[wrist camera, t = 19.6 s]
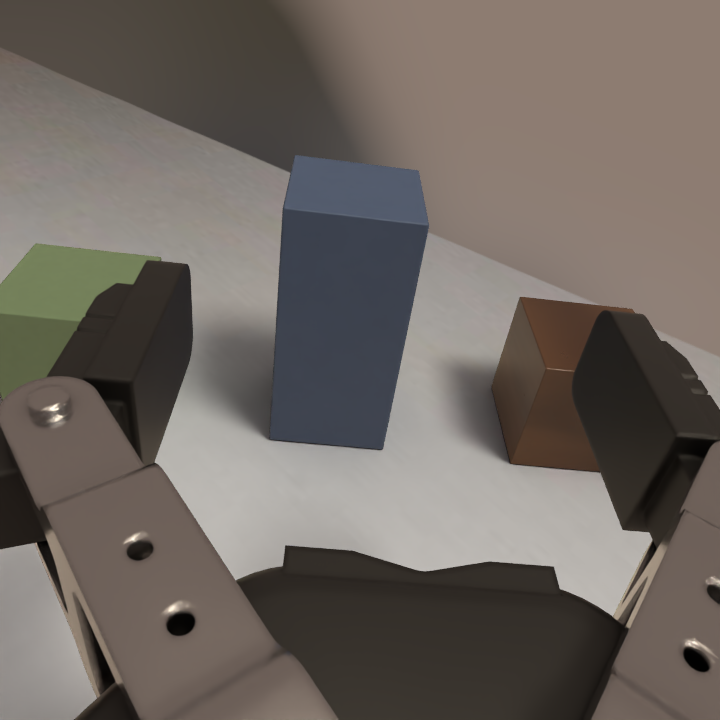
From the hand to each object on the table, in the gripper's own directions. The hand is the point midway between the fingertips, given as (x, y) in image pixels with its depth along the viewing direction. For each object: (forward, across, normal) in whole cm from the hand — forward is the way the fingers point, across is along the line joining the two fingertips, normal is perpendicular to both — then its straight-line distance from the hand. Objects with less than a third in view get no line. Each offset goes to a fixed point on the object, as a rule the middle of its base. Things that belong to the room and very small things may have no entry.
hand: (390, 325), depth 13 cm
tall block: (+10, +1, +12) cm, 16 cm away
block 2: (+11, -9, +12) cm, 18 cm away
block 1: (+10, +11, +12) cm, 19 cm away
